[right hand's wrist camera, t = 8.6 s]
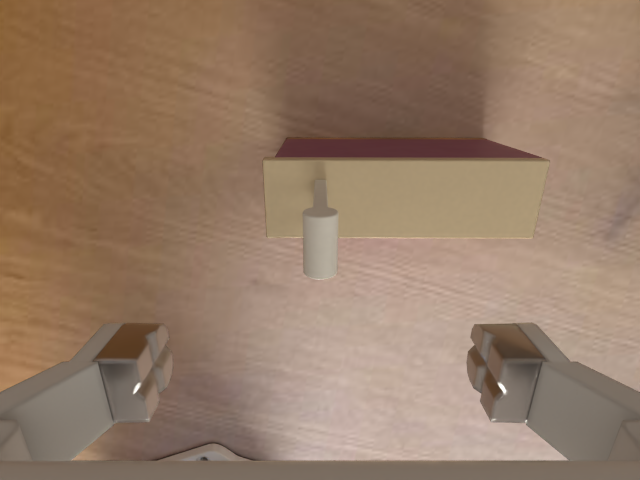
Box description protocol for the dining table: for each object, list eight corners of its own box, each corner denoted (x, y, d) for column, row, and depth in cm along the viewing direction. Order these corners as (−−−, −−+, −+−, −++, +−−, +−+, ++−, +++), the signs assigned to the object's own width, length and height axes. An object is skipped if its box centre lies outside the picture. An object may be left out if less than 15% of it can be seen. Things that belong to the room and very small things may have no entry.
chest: (288, 195, 34) (277, 233, 25) (286, 137, 32) (274, 156, 23) (474, 196, 34) (526, 233, 25) (483, 138, 32) (542, 157, 23)
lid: (268, 233, 25) (244, 299, 17) (264, 157, 23) (235, 193, 15) (526, 233, 25) (619, 300, 17) (542, 157, 23) (654, 193, 15)
